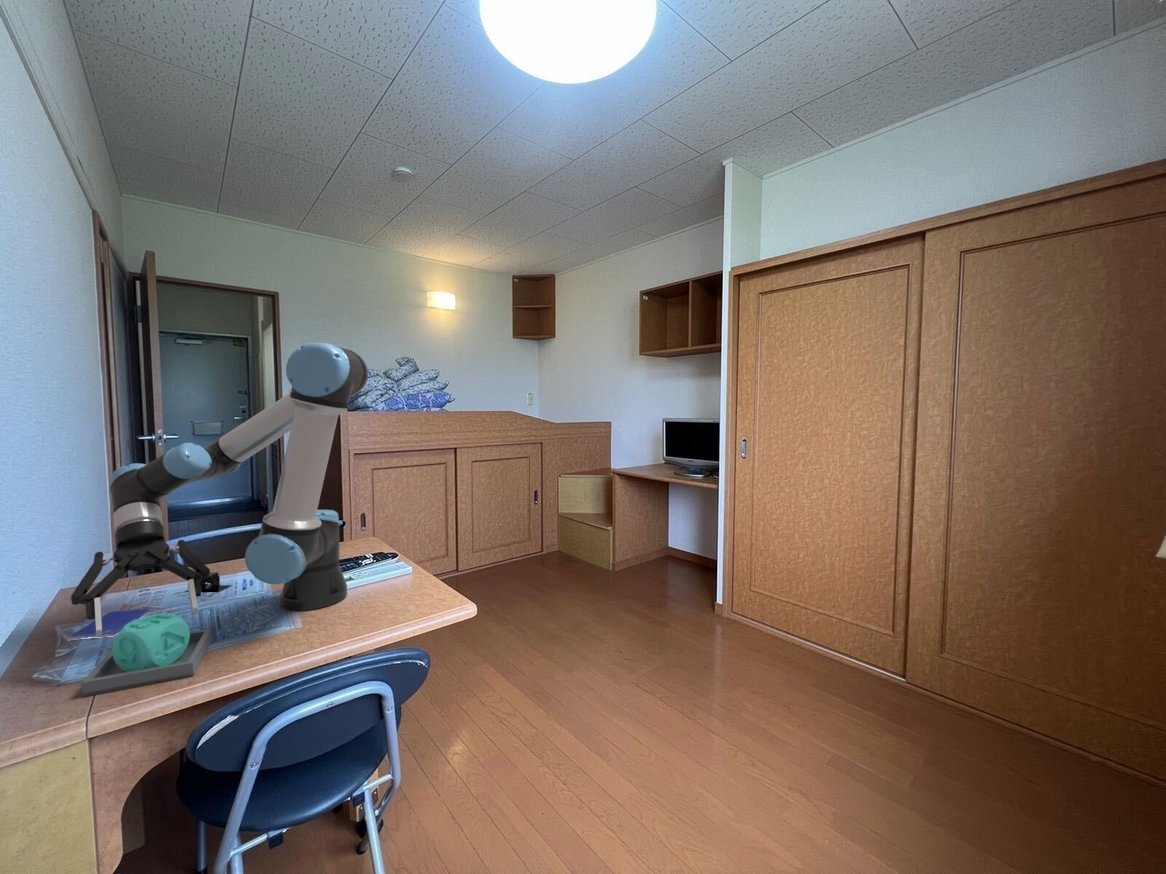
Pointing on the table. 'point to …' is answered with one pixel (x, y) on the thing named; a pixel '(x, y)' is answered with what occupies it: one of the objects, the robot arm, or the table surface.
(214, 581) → the black boxy piece
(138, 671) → the tray
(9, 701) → the table surface
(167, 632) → the decorative dice
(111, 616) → the purple flat rectangle
